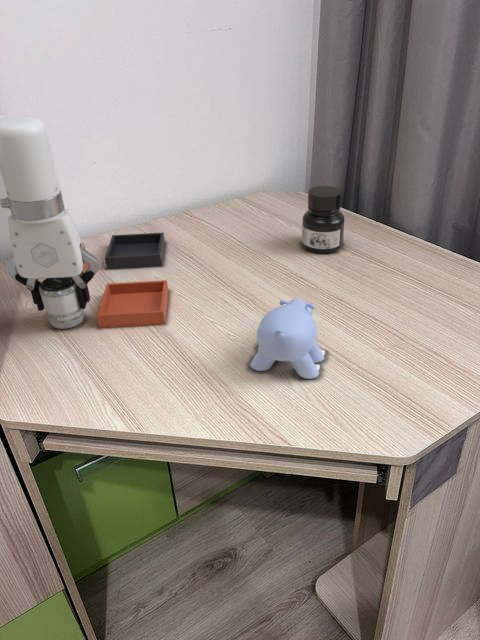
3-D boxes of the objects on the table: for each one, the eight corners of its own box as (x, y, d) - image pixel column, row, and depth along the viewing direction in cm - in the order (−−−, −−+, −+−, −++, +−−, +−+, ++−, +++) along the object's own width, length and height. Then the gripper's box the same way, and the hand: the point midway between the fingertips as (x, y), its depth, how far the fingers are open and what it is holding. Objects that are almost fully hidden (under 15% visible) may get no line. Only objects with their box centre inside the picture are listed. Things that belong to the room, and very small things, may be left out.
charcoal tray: (106, 269, 110) (104, 258, 109) (114, 245, 119) (112, 235, 118) (161, 266, 111) (160, 255, 109) (165, 242, 120) (163, 232, 118)
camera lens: (68, 333, 91) (58, 293, 86) (40, 324, 93) (28, 284, 88) (93, 315, 95) (84, 276, 91) (65, 307, 98) (55, 268, 93)
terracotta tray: (99, 327, 93) (96, 315, 91) (109, 295, 102) (106, 283, 100) (165, 323, 93) (163, 311, 92) (168, 291, 102) (167, 280, 101)
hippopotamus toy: (332, 333, 90) (335, 283, 84) (314, 390, 78) (316, 336, 73) (269, 325, 92) (269, 275, 87) (243, 378, 81) (240, 325, 75)
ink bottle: (294, 250, 116) (295, 195, 109) (307, 234, 122) (309, 181, 115) (338, 257, 113) (341, 201, 105) (349, 240, 119) (353, 187, 112)
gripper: (-30, 216, 78) (5, 320, 89) (91, 212, 80) (111, 315, 90) (-13, 198, 84) (18, 297, 95) (99, 194, 86) (117, 292, 96)
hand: (63, 305), depth 92 cm, fingers closed on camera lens, 6 cm apart
